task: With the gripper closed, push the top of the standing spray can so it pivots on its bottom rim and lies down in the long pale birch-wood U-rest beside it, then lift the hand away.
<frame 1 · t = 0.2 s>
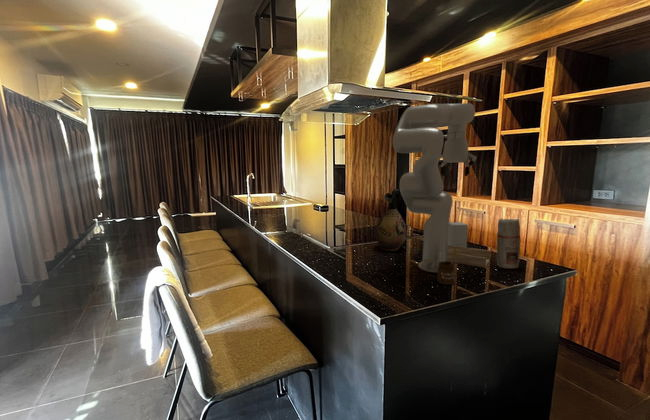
hand: (454, 175, 142), 37 cm above the table, fingers open, 9 cm apart
u-rest: (460, 259, 140), on the table
supplement box: (456, 248, 158), on the table
ceramic jug: (391, 248, 159), on the table
utensil holder: (445, 282, 114), on the table
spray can: (506, 266, 130), on the table
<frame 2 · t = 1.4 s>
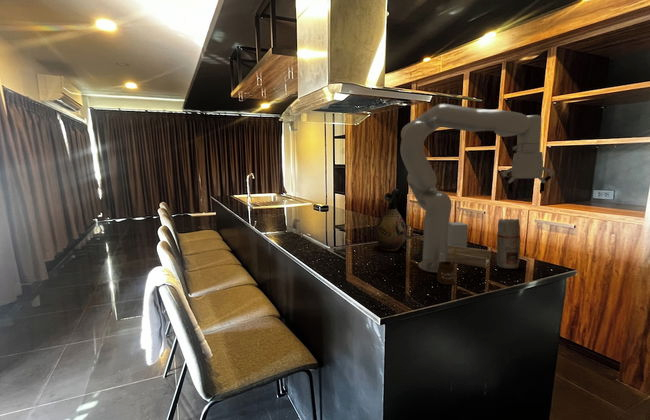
hand: (525, 193, 124), 30 cm above the table, fingers open, 9 cm apart
nothing on the table moved.
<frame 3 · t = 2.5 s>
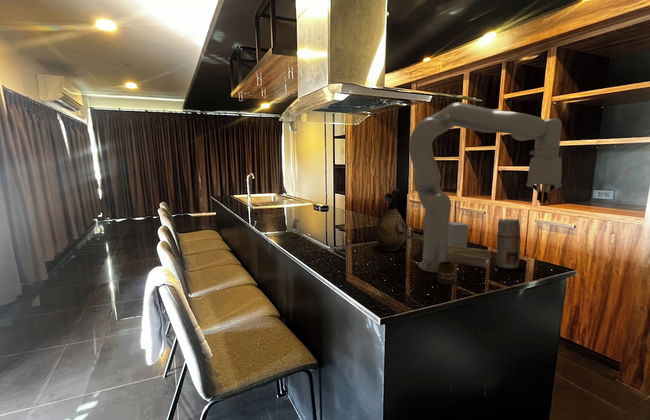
hand: (542, 202, 120), 27 cm above the table, fingers closed
nothing on the table moved.
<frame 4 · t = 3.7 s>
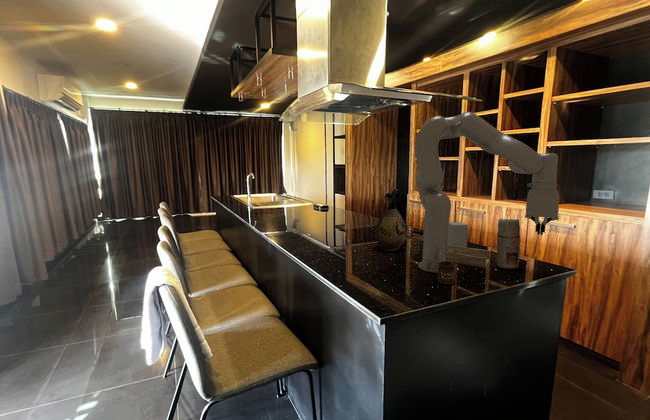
hand: (540, 234, 122), 15 cm above the table, fingers closed
nothing on the table moved.
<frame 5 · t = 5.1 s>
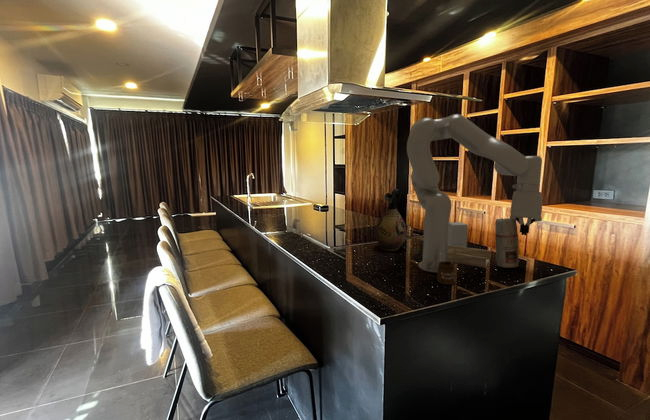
hand: (524, 234, 125), 14 cm above the table, fingers closed
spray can: (506, 266, 130), on the table, touching gripper
everything else where it was.
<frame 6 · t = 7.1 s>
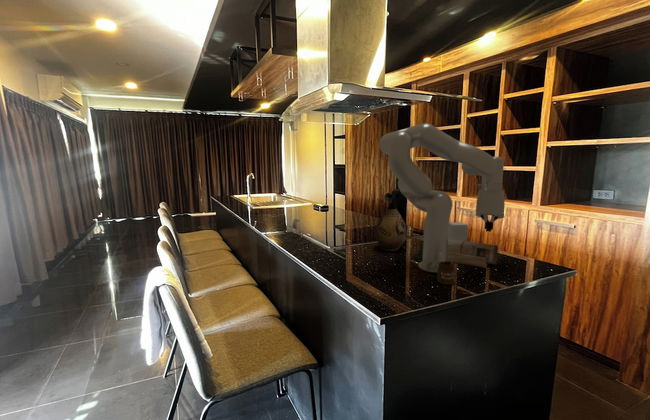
hand: (488, 231, 132), 14 cm above the table, fingers closed
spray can: (497, 255, 130), point 4 cm above the table, touching u-rest
everything else where it was.
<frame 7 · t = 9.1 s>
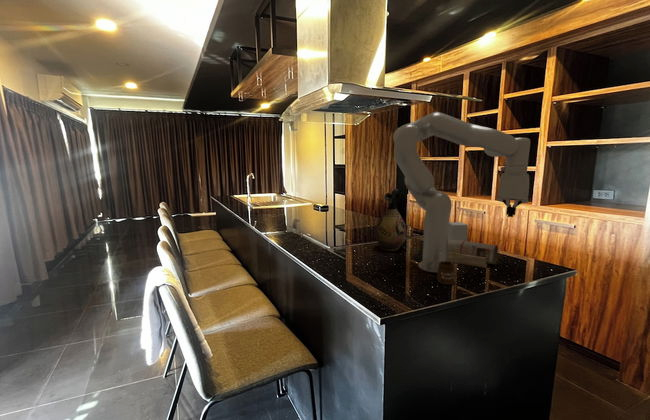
hand: (510, 216, 125), 21 cm above the table, fingers closed
nothing on the table moved.
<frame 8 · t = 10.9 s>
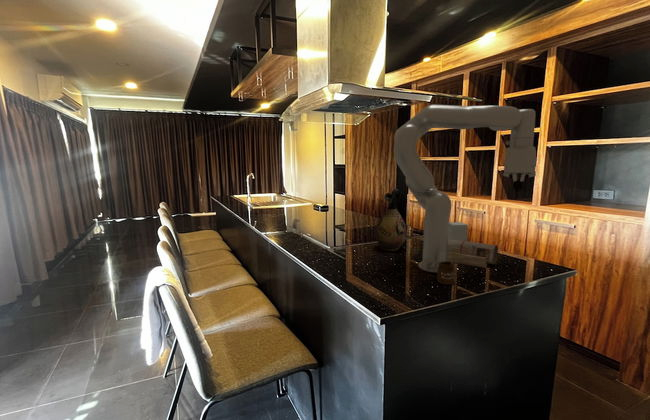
hand: (517, 191, 122), 31 cm above the table, fingers closed
nothing on the table moved.
at the end: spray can tilted 88°; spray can touching u-rest; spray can inside the target area (2.8 cm from its centre), point 4.3 cm above the table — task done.
